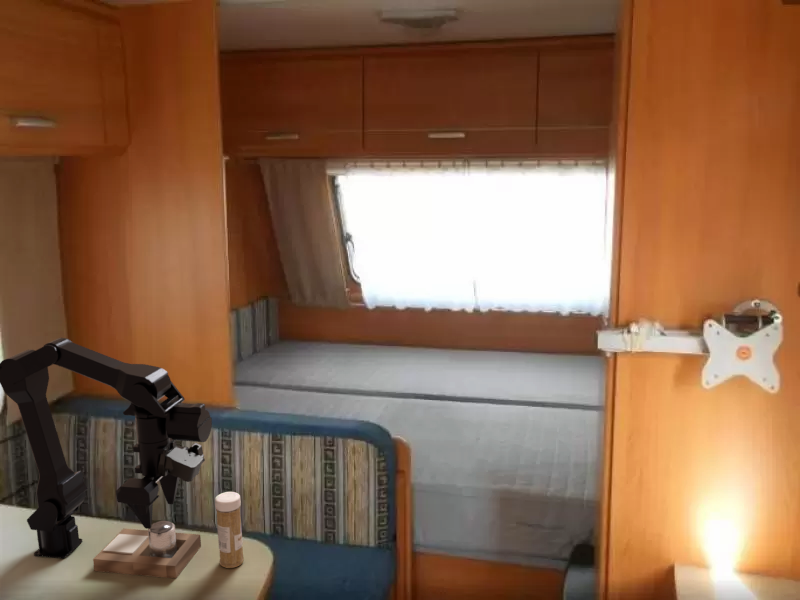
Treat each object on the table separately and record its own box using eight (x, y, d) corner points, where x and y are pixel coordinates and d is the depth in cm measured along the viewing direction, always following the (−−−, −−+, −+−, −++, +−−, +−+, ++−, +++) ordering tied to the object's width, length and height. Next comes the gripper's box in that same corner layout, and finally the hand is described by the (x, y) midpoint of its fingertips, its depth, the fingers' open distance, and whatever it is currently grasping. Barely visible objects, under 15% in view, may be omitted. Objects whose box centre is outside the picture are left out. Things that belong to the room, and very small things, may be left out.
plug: (146, 565, 142) (143, 531, 141) (158, 551, 147) (155, 518, 145) (170, 567, 141) (167, 533, 140) (181, 553, 146) (179, 520, 144)
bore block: (94, 571, 140) (92, 557, 140) (124, 539, 151) (123, 527, 150) (176, 578, 138) (175, 564, 137) (201, 546, 149) (200, 533, 148)
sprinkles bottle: (247, 564, 142) (244, 498, 139) (224, 572, 140) (220, 504, 137) (238, 553, 146) (234, 488, 143) (215, 560, 144) (211, 494, 141)
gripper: (172, 462, 128) (178, 545, 132) (215, 420, 146) (220, 495, 150) (111, 457, 130) (118, 540, 134) (161, 417, 148) (166, 491, 152)
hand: (159, 515), depth 142 cm, fingers open, 9 cm apart
